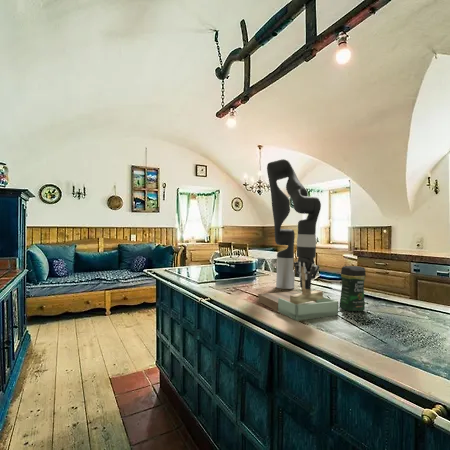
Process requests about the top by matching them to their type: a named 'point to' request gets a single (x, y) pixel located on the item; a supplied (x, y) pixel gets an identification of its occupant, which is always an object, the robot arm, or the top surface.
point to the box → (308, 309)
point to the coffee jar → (352, 288)
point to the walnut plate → (275, 298)
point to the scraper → (305, 293)
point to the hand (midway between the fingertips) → (305, 288)
